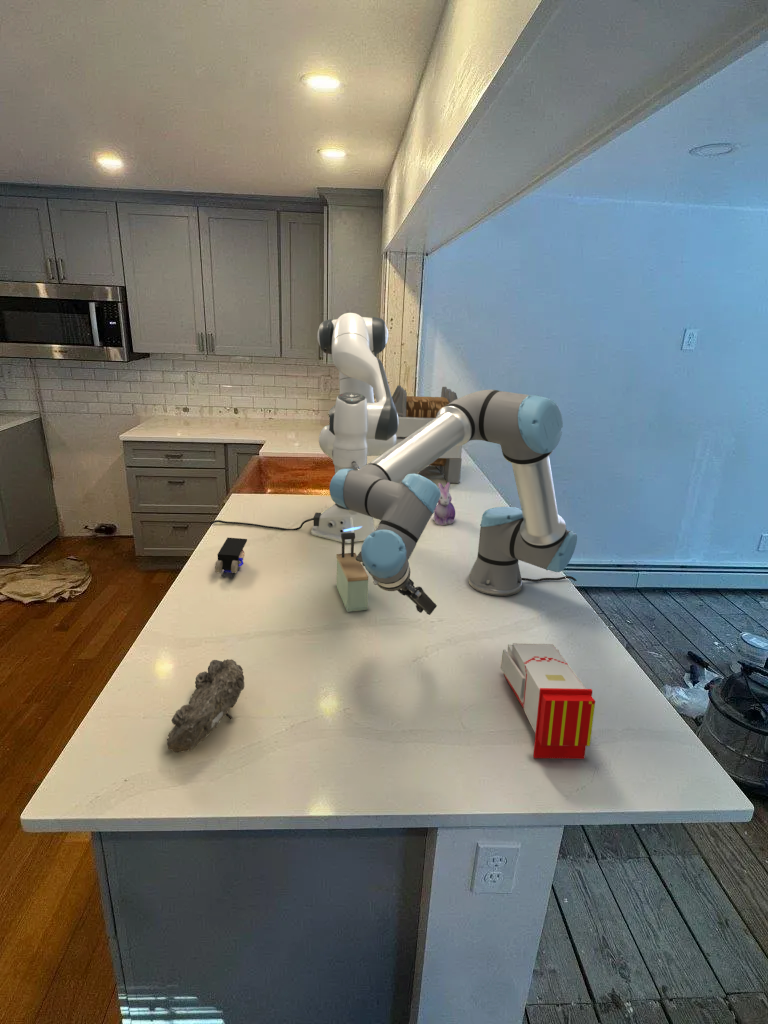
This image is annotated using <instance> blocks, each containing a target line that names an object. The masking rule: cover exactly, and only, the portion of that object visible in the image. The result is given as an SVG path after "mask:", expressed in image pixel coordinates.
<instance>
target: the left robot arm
mask: <svg viewBox="0 0 768 1024" xmlns="http://www.w3.org/2000/svg"><path fill="white" fill-rule="evenodd" d="M318 327H319V328H318V330H317V336H316V337H317V343H318V346H319V348H320V350H321V351H322V352H323V353H324V354H328V355H331V358H332V363H333V366H334V367H335V368H336V369H337V370H338V387H339V394H338V395H337V397H336V398H335V399H336V400H335V404H334V405H333V406H331V408H330V409H329V410H328V415H329V417H328V419H329V424H327V425H325V426H324V427H322V429H321V430H320V432H319V435H318V444H319V447H320V450H321V451H322V452H323V454H325V455H326V456H327V457H329V458H330V459H331V460H332V464H333V465H334V466H333V467H334V475H335V474H336V472H338V471H339V470H341V469H354V470H356V471H357V470H359V469H361V468H362V467H364V466H366V465H367V464H368V457H379V456H380V455H382V454H383V453H385V452H386V451H387V450H389V449H390V448H392V447H393V446H395V445H396V441H397V438H396V433H397V430H398V424H399V419H398V414H397V411H396V408H395V405H394V403H393V400H392V396H393V395H392V391H391V389H390V385H389V381H388V377H387V374H386V370H385V367H384V364H383V362H382V360H381V359H379V358H378V357H377V356H378V354H380V353H382V352H383V351H384V350H385V348H386V346H387V343H388V341H389V329H388V327H387V324H386V321H385V320H384V319H383V318H381V317H376V316H372V317H368V316H367V317H366V316H361V315H360V314H358V313H355V312H345V313H343V314H341V315H339V316H338V318H336V319H332V318H330V319H326V320H324V321H322V322H321V323H320V324H319V325H318ZM375 401H376V402H375ZM311 521H312V523H313V524H312V528H311V530H310V533H311V536H315V537H319V538H323V539H326V540H330V541H336V542H339V543H342V539H341V533H355V539H354V543H357V542H364V540H365V539H366V537H367V536H368V535H370V534H371V533H373V532H374V531H376V528H375V523H374V518H373V517H370V516H367V515H364V514H361V513H358V512H355V511H352V510H348V509H346V508H344V507H342V506H340V505H338V504H336V503H335V502H334V504H333V505H331V506H329V507H328V508H326V509H325V510H323V512H315V513H314V515H313V517H312V518H309V519H305V520H304V521H302V522H301V524H300V526H297V527H295V528H287V527H279V526H271V525H265V524H258V523H252V522H251V523H249V522H241V521H226V520H221V519H220V520H219V519H216V520H213V521H211V522H210V523H209V525H214V524H216V523H220V524H226V525H241V526H251V527H257V528H263V529H270V530H271V529H272V530H280V531H298V530H301V529H302V528H303V526H304V525H305V524H306V523H308V522H311ZM345 544H351V539H348V540H345Z"/></svg>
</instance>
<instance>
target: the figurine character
mask: <svg viewBox="0 0 768 1024" xmlns="http://www.w3.org/2000/svg"><path fill="white" fill-rule="evenodd" d="M247 542H248V538H240V537H226V539H225V541H224V543H223V544H222V546H221V547H220V549H219V551H218V552H217V560H216V562H215V564H214V572H215V573H221V577H222V578H224V577H225V576H226V574H227V573H230V574H231V573H232V574H231V578H234V577H235V575H236V573H237V572H239V571H240V567H242V566H243V565H244V564H245V562H244V558H245V551H244V547H245V546H246V544H247Z"/></svg>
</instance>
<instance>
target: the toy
mask: <svg viewBox="0 0 768 1024" xmlns="http://www.w3.org/2000/svg"><path fill="white" fill-rule="evenodd" d="M499 667H500V670H501V671H502V673H503V676H504V677H505V680H506V681H507V683H508V685H509V686H510V689H511V690H512V691H513V694H514V695H515V697H516V698H517V701H518V702H519V704H520V706H521V708H523V711H524V713H525V715H526V719H528V723H530V726H531V728H532V730H533V732H534V734H535V735H534V744H533V759H566V760H567V759H571V760H572V759H574V760H575V759H577V760H578V759H580V760H584V759H585V755H586V748H587V747H590V746H591V739H592V733H593V731H592V730H593V723H594V716H595V706H596V700H595V699H594V697H593V689H592V688H586V686H585V685H584V684H583V682H582V681H581V680H580V678H579V677H578V676H577V674H576V673H575V672H574V670H573V669H572V667H571V666H570V665H569V663H568V662H567V660H566V659H565V658H564V656H563V655H562V654H561V652H560V650H559V649H558V648H556V645H554V643H519V642H518V643H514V642H512V644H507V650H506V649H502V652H501V660H500V666H499Z"/></svg>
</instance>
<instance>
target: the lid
mask: <svg viewBox="0 0 768 1024" xmlns="http://www.w3.org/2000/svg"><path fill="white" fill-rule="evenodd" d="M341 539H342V542H341V553H336V554H335V558H336V561H337V560H338V562H339V564H340V566H341V568H342V570H343V573H344V575H345V577H346V579H347V581H348V582H350V581H362V580H368V581H369V575H368V572H367V570H366V568H365V567H364V566H363V565H362V562H359V561H357V560H356V559H355V558H356V557H357V555H358V554H357V553H356V552H355V542H354V539H355V533H341ZM348 539H351V543H350V552H346V553H345V550H346V549H345V548H346V547H345V546H346V543H345V540H348Z"/></svg>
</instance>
